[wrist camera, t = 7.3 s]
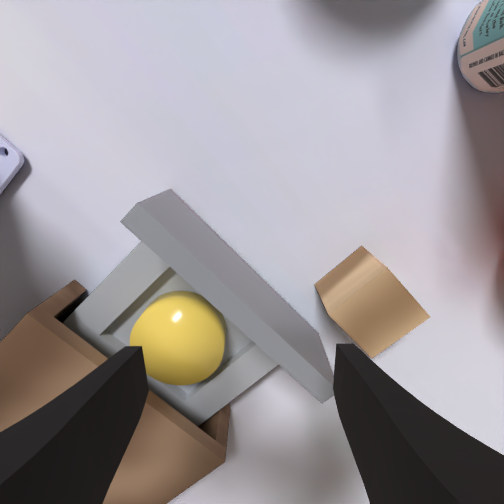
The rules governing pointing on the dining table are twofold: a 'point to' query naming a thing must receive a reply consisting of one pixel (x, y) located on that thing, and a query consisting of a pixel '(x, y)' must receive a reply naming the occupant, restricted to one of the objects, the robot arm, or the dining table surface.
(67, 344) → the housing
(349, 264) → the block
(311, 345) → the tray
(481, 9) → the beer can
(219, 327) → the yellow flat dome
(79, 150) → the dining table surface
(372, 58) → the dining table surface
